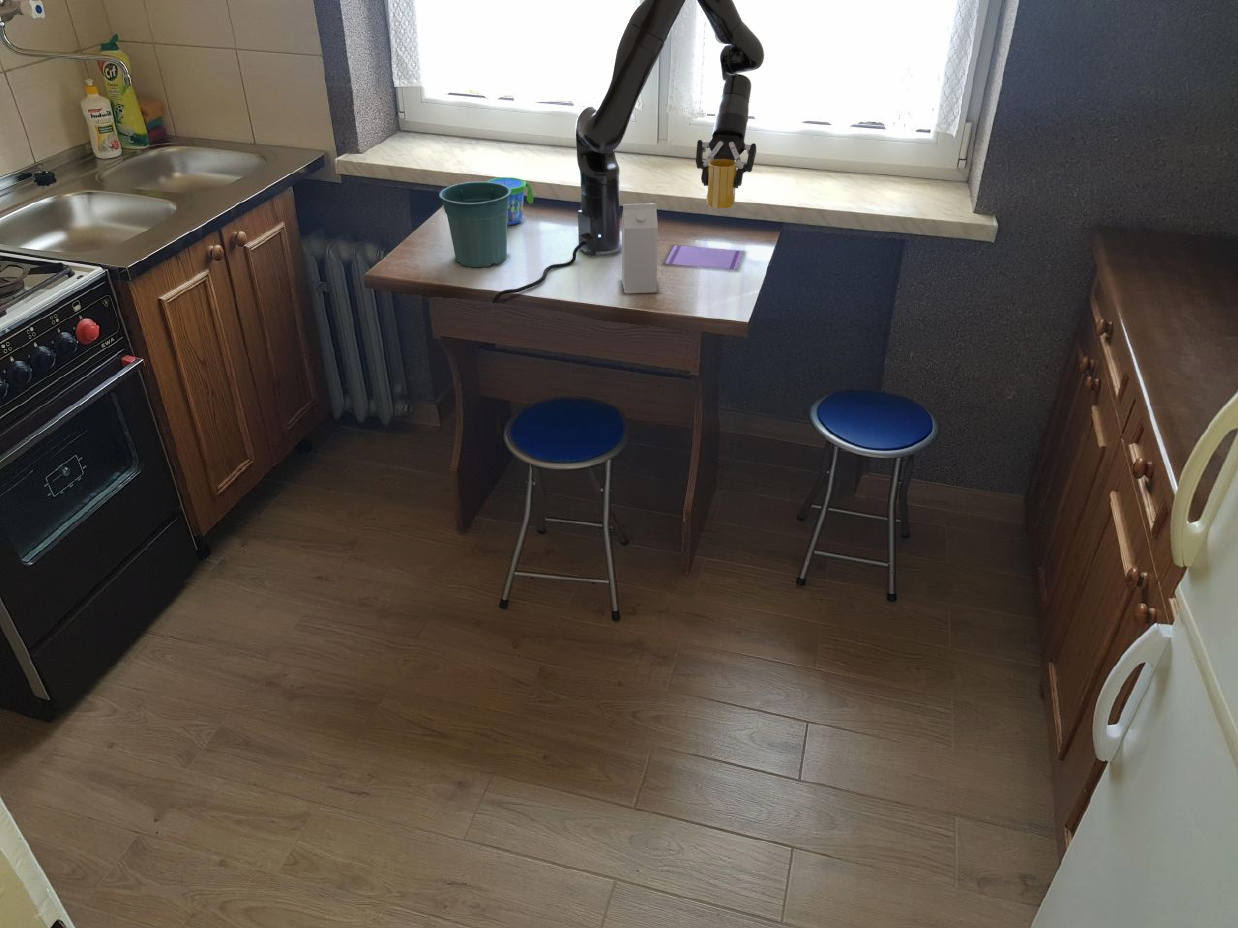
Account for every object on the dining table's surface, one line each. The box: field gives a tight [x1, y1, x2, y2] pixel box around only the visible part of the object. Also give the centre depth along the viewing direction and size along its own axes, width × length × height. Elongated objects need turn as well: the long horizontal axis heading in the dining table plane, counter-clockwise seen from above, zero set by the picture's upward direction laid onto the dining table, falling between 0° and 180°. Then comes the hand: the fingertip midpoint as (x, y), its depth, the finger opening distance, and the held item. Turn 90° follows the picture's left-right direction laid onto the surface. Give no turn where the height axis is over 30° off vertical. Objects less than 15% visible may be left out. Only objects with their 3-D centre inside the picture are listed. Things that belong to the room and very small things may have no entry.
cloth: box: [664, 244, 744, 271], centre depth 228 cm, size 17×12×1 cm
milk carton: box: [621, 202, 659, 294], centre depth 208 cm, size 7×7×19 cm
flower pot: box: [438, 181, 511, 268], centre depth 224 cm, size 16×16×16 cm
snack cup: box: [485, 176, 534, 227], centre depth 246 cm, size 16×10×10 cm
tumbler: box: [705, 159, 737, 209], centre depth 221 cm, size 6×6×10 cm
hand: (720, 185), depth 220 cm, fingers closed on tumbler, 6 cm apart
